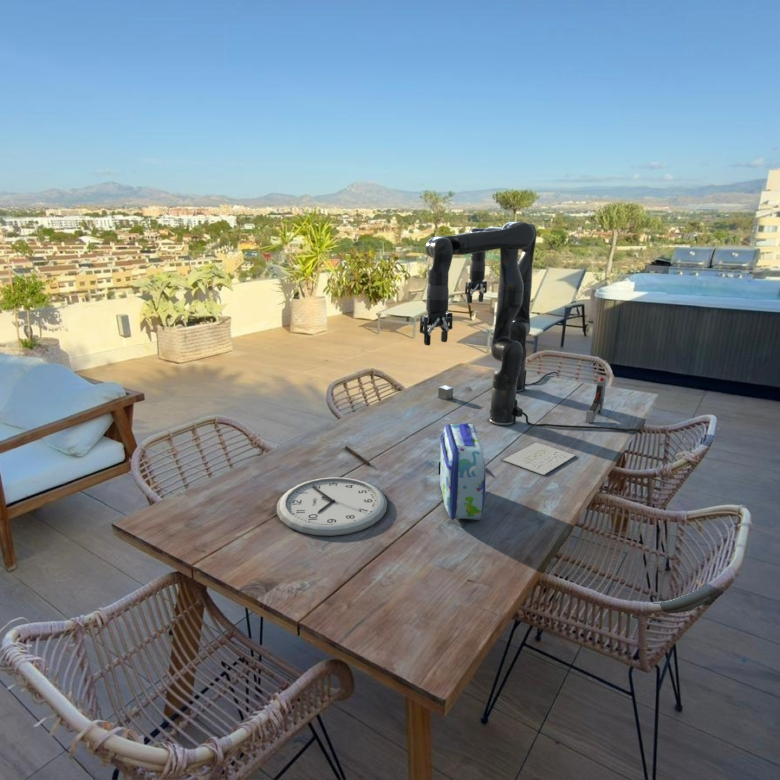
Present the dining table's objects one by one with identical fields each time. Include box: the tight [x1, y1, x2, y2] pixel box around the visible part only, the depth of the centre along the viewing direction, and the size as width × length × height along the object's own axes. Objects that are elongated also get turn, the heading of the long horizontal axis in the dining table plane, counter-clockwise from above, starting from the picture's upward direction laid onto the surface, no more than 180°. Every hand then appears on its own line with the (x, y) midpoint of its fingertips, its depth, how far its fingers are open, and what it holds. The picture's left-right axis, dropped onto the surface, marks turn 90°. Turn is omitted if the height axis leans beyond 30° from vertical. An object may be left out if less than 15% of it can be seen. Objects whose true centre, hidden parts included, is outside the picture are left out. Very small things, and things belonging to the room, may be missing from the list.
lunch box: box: [438, 422, 486, 521], centre depth 142 cm, size 26×11×21 cm, turn 179°
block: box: [437, 384, 454, 401], centre depth 234 cm, size 5×4×5 cm
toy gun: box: [585, 376, 607, 424], centre depth 210 cm, size 2×16×15 cm
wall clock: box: [276, 476, 388, 537], centre depth 142 cm, size 30×2×30 cm
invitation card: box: [502, 442, 577, 476], centre depth 174 cm, size 21×1×15 cm
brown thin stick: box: [344, 445, 370, 465], centre depth 173 cm, size 15×1×1 cm, turn 34°
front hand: (435, 343), depth 185 cm, fingers open, 8 cm apart
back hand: (475, 302), depth 266 cm, fingers open, 8 cm apart
